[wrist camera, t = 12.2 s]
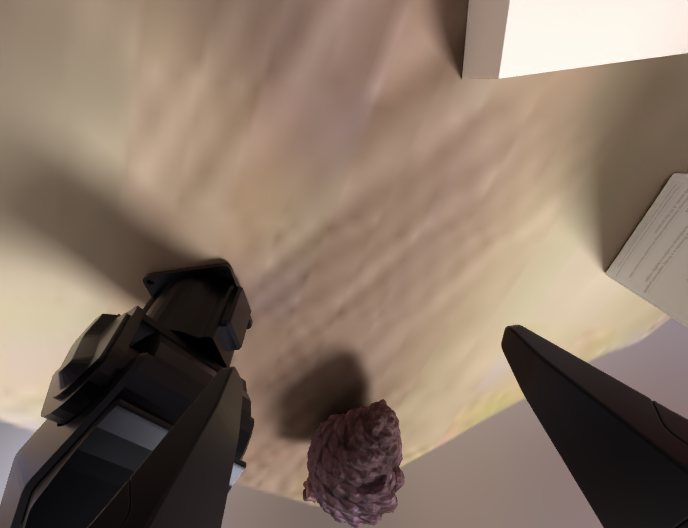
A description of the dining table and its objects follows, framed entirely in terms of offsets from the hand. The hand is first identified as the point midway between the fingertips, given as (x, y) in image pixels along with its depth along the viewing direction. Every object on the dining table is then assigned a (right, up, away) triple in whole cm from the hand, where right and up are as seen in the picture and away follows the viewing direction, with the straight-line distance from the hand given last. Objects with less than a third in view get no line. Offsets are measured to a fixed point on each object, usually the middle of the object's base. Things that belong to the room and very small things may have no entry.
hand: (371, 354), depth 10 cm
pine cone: (0, -15, +25) cm, 29 cm away
